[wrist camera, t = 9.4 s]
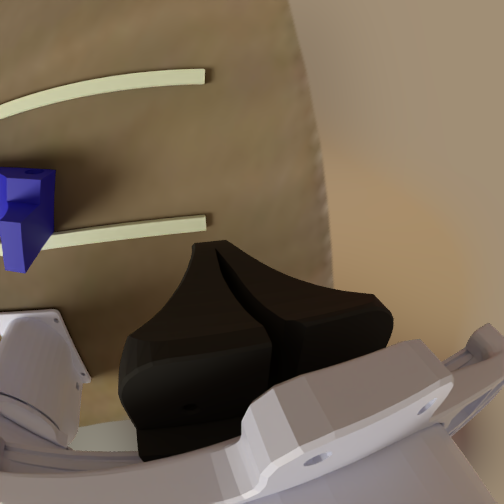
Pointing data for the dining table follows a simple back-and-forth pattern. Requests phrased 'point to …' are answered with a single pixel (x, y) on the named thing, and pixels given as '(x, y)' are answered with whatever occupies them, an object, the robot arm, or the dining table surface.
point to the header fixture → (100, 87)
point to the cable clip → (25, 214)
